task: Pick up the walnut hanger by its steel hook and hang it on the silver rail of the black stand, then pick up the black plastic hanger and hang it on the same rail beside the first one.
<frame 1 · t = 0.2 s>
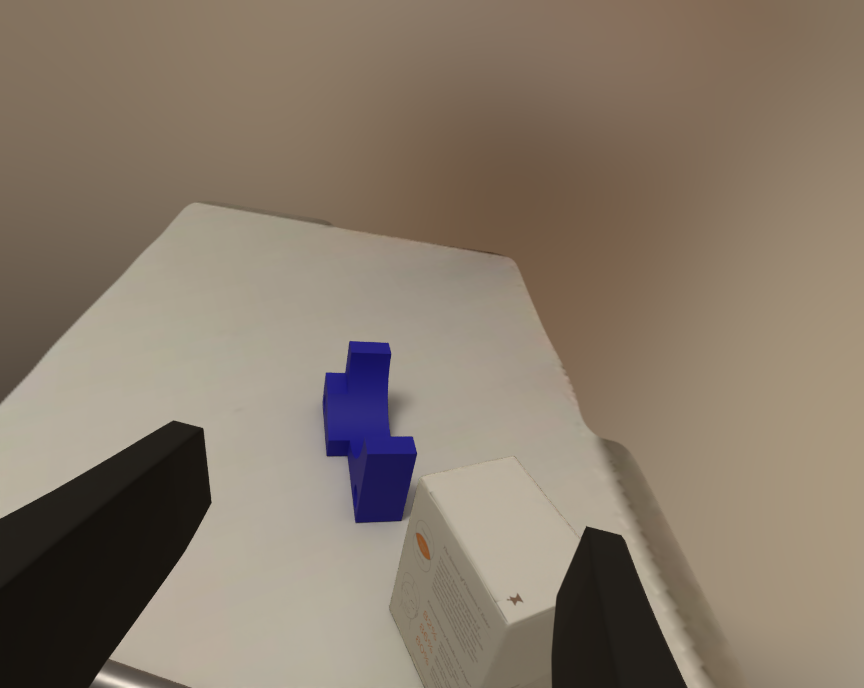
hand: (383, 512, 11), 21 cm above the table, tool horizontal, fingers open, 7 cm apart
blue curved cradle bracket: (357, 457, 41), on the table
small box: (461, 658, 30), on the table
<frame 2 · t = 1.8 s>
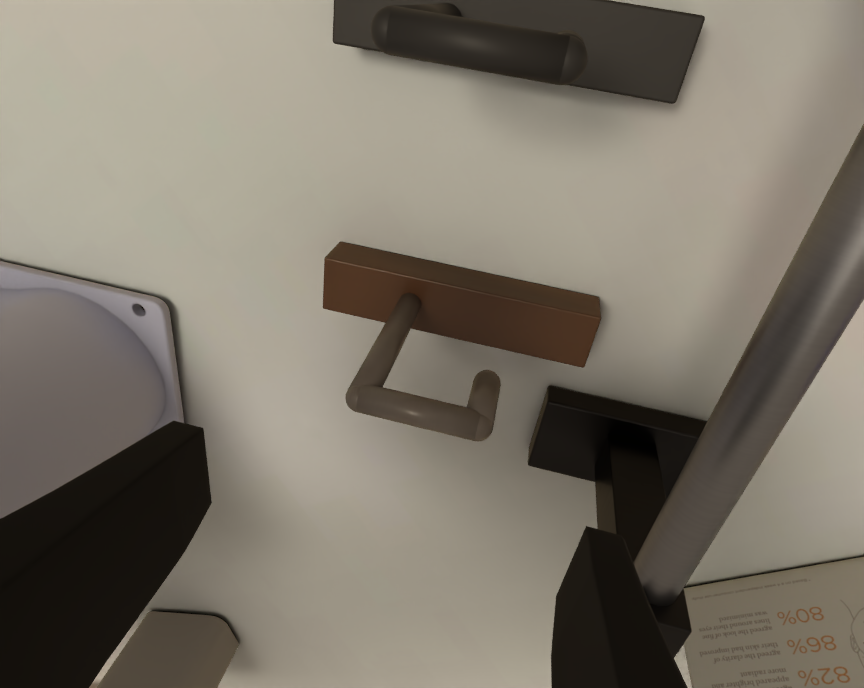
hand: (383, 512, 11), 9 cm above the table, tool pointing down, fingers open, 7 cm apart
black hanger: (511, 28, 14), on the table
walnut hanger: (461, 293, 18), on the table
small box: (795, 607, 23), on the table
rail stand: (713, 222, 16), on the table
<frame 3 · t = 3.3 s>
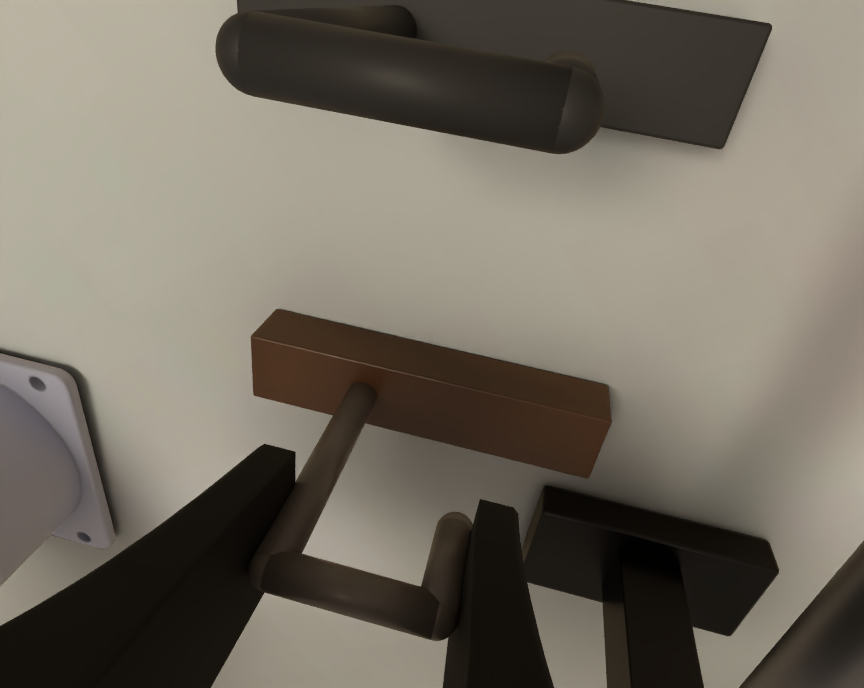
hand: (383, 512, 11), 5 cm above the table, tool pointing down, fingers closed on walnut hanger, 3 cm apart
black hanger: (490, 39, 10), on the table
walnut hanger: (432, 374, 14), on the table, touching gripper
rail stand: (764, 299, 12), on the table
when the fingers open (6 cm above the table, at t = 6.4 s): walnut hanger stays where it is, resting on rail stand.
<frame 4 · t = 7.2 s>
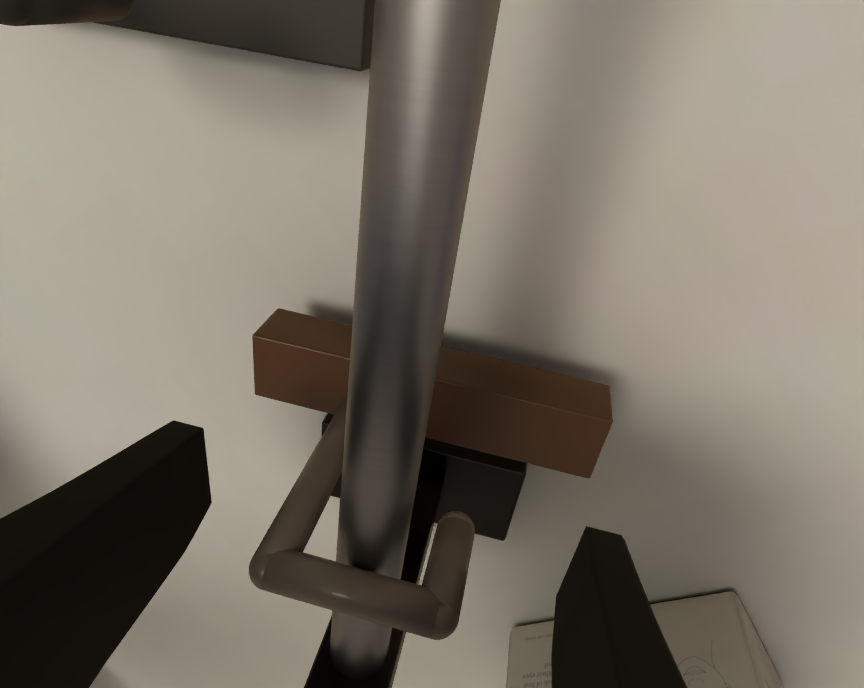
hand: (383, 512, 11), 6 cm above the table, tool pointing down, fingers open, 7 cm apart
walnut hanger: (433, 374, 14), point 1 cm above the table, touching rail stand
small box: (643, 647, 20), on the table
rail stand: (465, 216, 13), on the table
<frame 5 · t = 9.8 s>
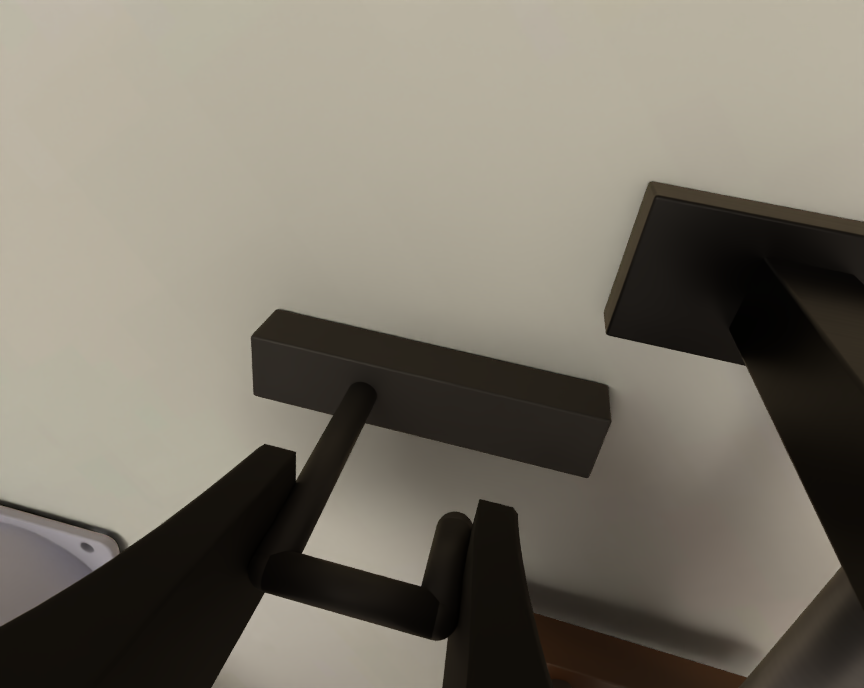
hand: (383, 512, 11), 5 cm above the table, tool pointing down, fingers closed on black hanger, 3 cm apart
black hanger: (432, 374, 14), on the table, touching gripper
walnut hanger: (608, 653, 17), point 1 cm above the table, touching rail stand
rail stand: (641, 537, 16), on the table
when the fingers open (6 cm above the table, at t = 13.0 s): black hanger stays where it is, resting on rail stand.
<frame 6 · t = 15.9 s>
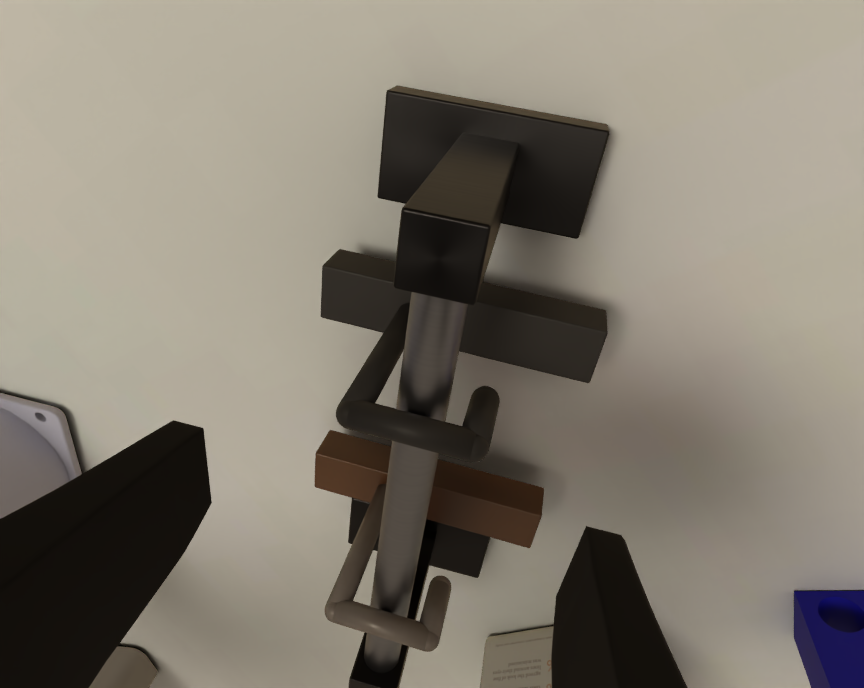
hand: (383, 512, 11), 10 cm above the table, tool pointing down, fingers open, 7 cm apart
black hanger: (464, 303, 18), point 1 cm above the table, touching rail stand
walnut hanger: (431, 474, 22), point 1 cm above the table, touching rail stand
small box: (582, 652, 28), on the table
rail stand: (448, 377, 21), on the table
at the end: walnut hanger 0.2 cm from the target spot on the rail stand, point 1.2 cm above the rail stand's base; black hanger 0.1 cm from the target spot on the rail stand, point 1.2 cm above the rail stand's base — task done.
